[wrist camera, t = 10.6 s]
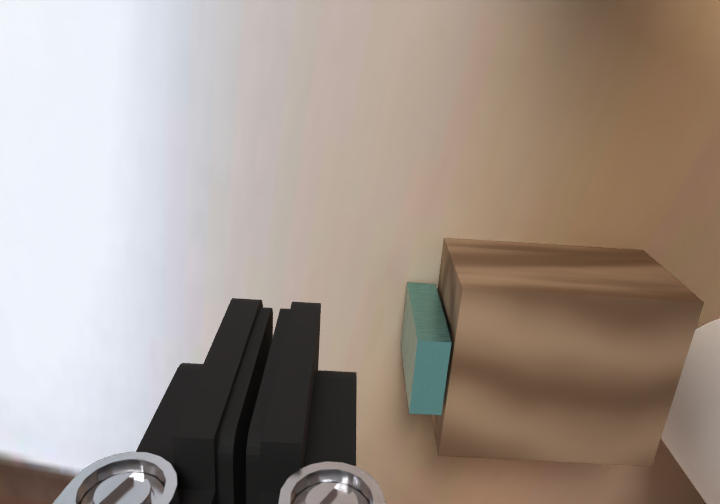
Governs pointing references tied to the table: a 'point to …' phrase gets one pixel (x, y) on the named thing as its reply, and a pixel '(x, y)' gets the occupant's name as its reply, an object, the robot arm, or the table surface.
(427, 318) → the peg
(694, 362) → the canister
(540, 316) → the block
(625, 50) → the table surface
